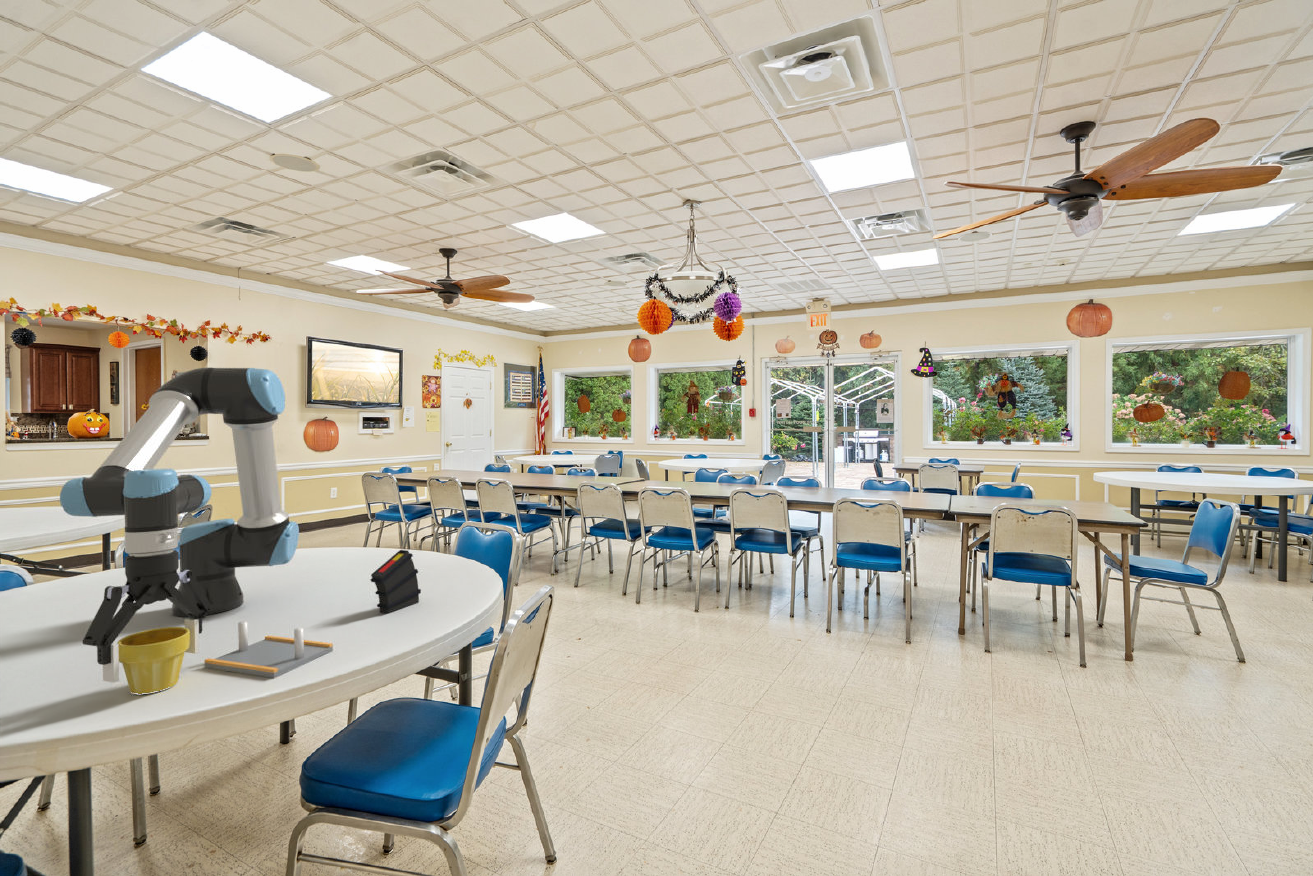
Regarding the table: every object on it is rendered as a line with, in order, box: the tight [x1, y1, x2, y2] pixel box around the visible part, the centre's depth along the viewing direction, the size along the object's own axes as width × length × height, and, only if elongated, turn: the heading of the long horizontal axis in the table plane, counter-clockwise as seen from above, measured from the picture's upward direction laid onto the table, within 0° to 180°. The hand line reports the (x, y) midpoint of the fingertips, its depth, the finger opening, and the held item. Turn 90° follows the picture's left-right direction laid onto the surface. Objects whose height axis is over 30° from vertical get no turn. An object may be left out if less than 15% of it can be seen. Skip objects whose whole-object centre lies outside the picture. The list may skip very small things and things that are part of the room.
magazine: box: [370, 549, 422, 614], centre depth 155 cm, size 4×13×15 cm, turn 157°
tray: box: [203, 620, 334, 679], centre depth 121 cm, size 18×14×7 cm
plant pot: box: [116, 626, 190, 694], centre depth 108 cm, size 10×10×10 cm
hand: (153, 665), depth 108 cm, fingers open, 13 cm apart
